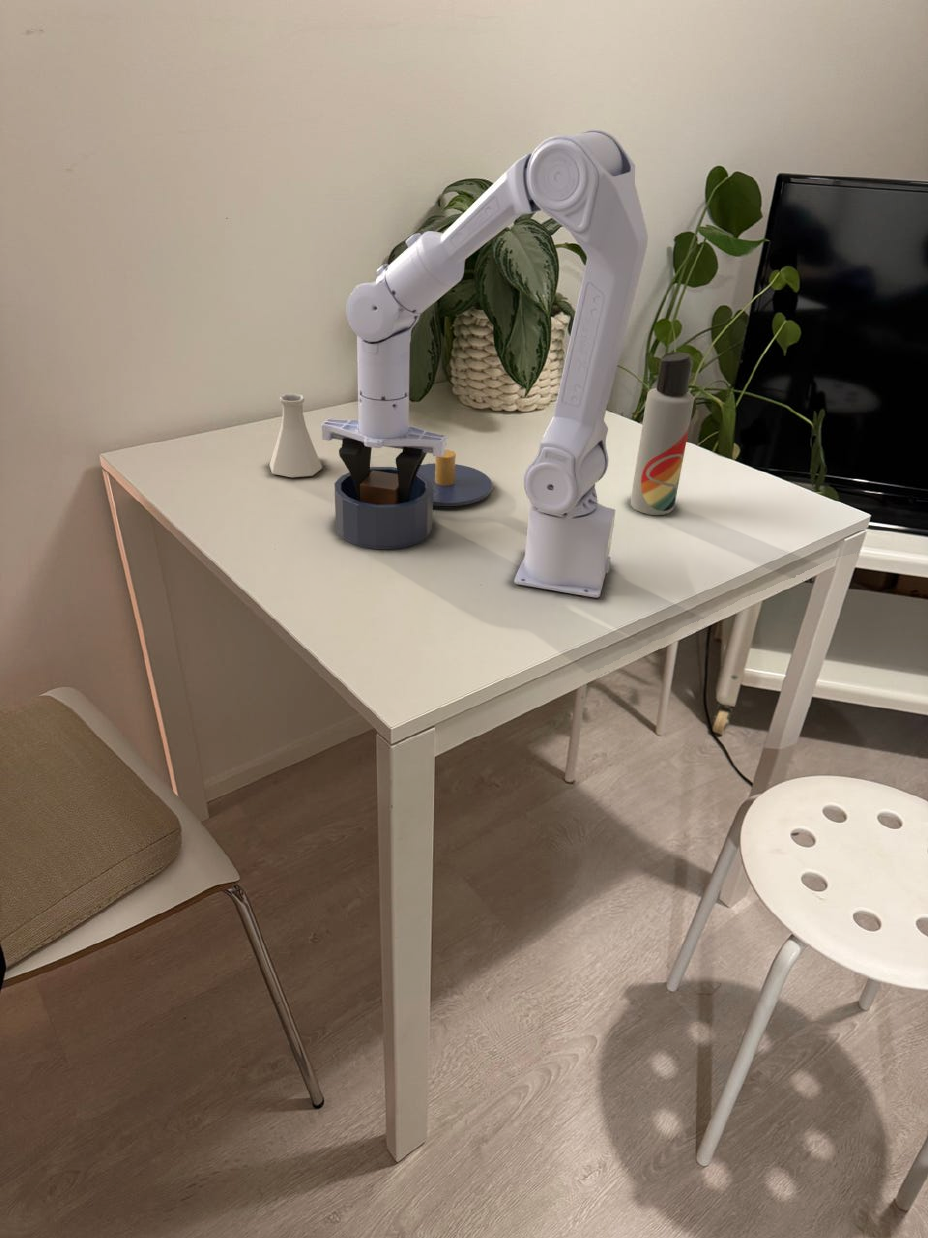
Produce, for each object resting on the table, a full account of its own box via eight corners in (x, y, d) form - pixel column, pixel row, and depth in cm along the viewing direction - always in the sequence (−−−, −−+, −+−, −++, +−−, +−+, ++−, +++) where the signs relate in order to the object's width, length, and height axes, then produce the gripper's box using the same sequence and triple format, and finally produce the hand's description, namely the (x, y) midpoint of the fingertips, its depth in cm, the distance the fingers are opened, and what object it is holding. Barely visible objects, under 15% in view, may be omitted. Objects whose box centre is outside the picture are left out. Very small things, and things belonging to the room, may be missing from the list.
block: (406, 508, 111) (407, 475, 108) (395, 524, 107) (395, 489, 105) (372, 503, 112) (372, 470, 109) (360, 518, 108) (359, 484, 106)
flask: (318, 480, 121) (315, 408, 115) (264, 477, 121) (258, 405, 115) (326, 459, 127) (323, 389, 122) (274, 456, 127) (269, 386, 121)
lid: (501, 478, 124) (503, 443, 121) (478, 516, 114) (481, 479, 111) (413, 465, 127) (413, 430, 124) (383, 501, 116) (383, 464, 114)
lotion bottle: (673, 518, 116) (702, 363, 105) (628, 512, 117) (653, 358, 106) (673, 500, 121) (701, 350, 110) (631, 494, 122) (654, 345, 111)
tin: (442, 514, 114) (444, 474, 111) (415, 556, 104) (415, 514, 102) (355, 500, 116) (355, 461, 113) (321, 540, 107) (319, 498, 104)
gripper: (309, 394, 99) (314, 507, 107) (435, 412, 97) (432, 526, 104) (333, 375, 105) (336, 483, 112) (453, 392, 102) (448, 501, 110)
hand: (383, 502), depth 109 cm, fingers closed on block, 4 cm apart
